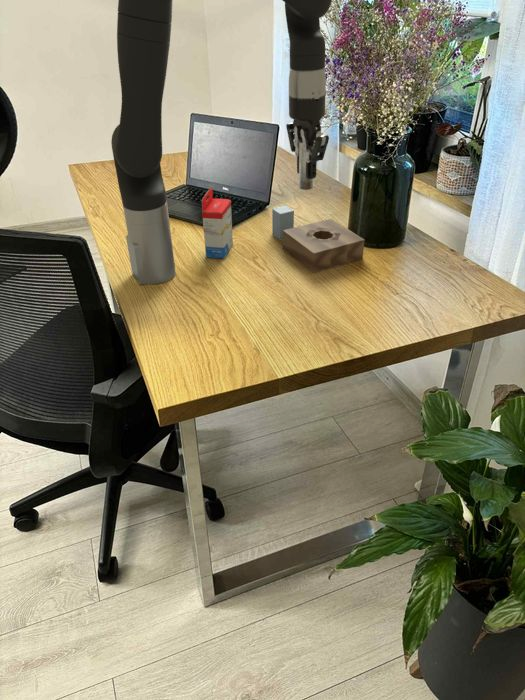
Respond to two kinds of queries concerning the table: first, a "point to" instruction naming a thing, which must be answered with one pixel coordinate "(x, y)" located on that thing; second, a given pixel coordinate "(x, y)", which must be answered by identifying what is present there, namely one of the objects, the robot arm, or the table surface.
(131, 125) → the robot arm
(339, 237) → the socket block
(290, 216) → the square bar
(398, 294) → the table surface
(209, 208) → the ink box
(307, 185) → the round bit
